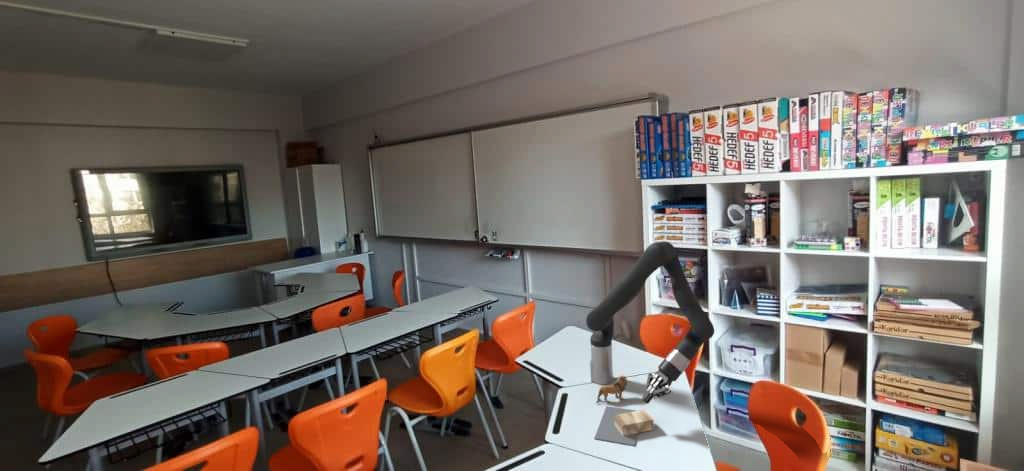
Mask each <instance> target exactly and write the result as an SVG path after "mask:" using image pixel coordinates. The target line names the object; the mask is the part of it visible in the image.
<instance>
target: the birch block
mask: <svg viewBox="0 0 1024 471" xmlns="http://www.w3.org/2000/svg"><path fill="white" fill-rule="evenodd" d="M614 420H615V426H616V427H617V429H618V430H619V431H620V433H621V434H622V435H623V436H625V435H630V434H634V433H638V434H639V433H643V432H647V431H648V432H649V431H653V430H655V427H654V426H655V425H654V424H655V423H654V422H655V420H654V418H653V417H652V416H651V415H650V414H649V413H648V412H647V411H646V410H645V409H639V410H636V411H633V412H628V413H623V414H618V415H614Z"/></svg>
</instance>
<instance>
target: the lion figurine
mask: <svg viewBox="0 0 1024 471" xmlns="http://www.w3.org/2000/svg"><path fill="white" fill-rule="evenodd" d="M627 383H628V380H627V378H626V376H625V375H620V376H618V377H617V380H616V381H615V383H614V384H610V385H608V384H603V385H601V386H600V388H599V389H598V394H597V398H596V399H597V401H596V404H599V403H600V402H601V400H602V399H601V396H602V395H603V397H604V399H603V400H604V401H605V402H606V403H607V404H610V401H609V400H608V396H609V395H615V396H614V397H615V398H619V400H620V401H624V398H622V395H623V392H625V390H626V387H627Z"/></svg>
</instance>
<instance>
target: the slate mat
mask: <svg viewBox="0 0 1024 471" xmlns="http://www.w3.org/2000/svg"><path fill="white" fill-rule="evenodd" d="M633 411H637V410H635V409H630V408H629V409H627V408H622V407H616V406H615V407H614V406H608V405H606V406H605V408H604V412H603V414H602V416H601V419H600V423H599V425H598V428H597V430H596V434H595V436H594V438H593V439H594V440H596V441H604V442H609V443H614V444H619V445H626V446H631V447H636V442H637V438H638V434H639V433H634V434H630V435H625V436H623V435H622V434H621V433H620V431H619V430H618V429H617V427H616V426H615V420H614V415H618V414H623V413H628V412H633Z"/></svg>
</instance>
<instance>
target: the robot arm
mask: <svg viewBox="0 0 1024 471" xmlns="http://www.w3.org/2000/svg"><path fill="white" fill-rule="evenodd" d="M661 267H663V269H664V270H665V271H666V273H667V275H668V277H669V280H670V283H671V288H672V293H673V297H674V299H675V302H676V304H677V305H678V308H679V309H680V311H681V313H682V315H683V316H684V317H685V318H686V319H687V321H688V323H689V325H690V327H689V329H688V330H687V332H686V333H685V335H684V336H683V338H682V339H681V340H680V341H678V343H677V344H676V345H675V347H674V348H673V349H672V350H670V352H669V353H668V354H667V355H666V356H665V358H663V360H662V361H661V363H660V364H659V365H658V367H657V368H658V370H657V371H655V373H651V372H648V374H647V380H646V383H645V387H646V392H645V393H644V395H642V397H641V400H642V401H643V403H645V404H650V402H651V401H652V399H653V398H654V397H656V398H658V399H659V398H661V397H664V396H667V395H670V394H671V393H672V391H671V389H670V386H671V385H672V383H673V382H676V381H677V380H678V379H679V378H680V376H681V375H682V374H683V372H684V371H685V370H686V369H687V368H688V366H690V363H691V362H692V360H693V359H694V357H696V355H697V354H698V353H699V350H700V348H701V347H702V345H704V343H705V342H706V341H708V340H710V339H711V338H713V337H714V335H715V328H714V324H713V322H712V321H711V320H710V318H709V317H708V315H707V313H706V312H705V311H704V309H703V307H702V306H701V304H700V302H699V301H698V299H697V297H696V295H695V293H694V291H693V289H692V287H691V285H690V284H689V281H688V278H687V276H686V274H685V272H684V269H683V266H682V264H681V262H680V258H679V255H678V253H677V250H676V248H675V246H674V245H673V244H672V243H671V242H669V241H658V242H654V243H651V244H649V245H648V246H647V248H645V250H644V251H643V253H642V254H641V256H640V257H639V258H638V260H637V261H636V262H635V264H634V265H633V266H632V267H631V268H630V269H629V270H628V271H627V272H626V273H625V274H624V275H623V276H622V277H621V278H620V279H619V280H618V281H617V282H616V284H615V285H614V286H613V288H611V290H610V291H609V292H608V293H607V294H606V296H605V297H604V299H603V300H601V302H600V303H599V304H597V306H595V307H594V308H593V309H592V310H591V311H590V312H588V313H587V316H586V319H585V322H586V323H585V324H586V326H587V328H588V329H589V330H590V331H591V332H592V331H593V332H592V334H591V336H590V341H589V342H590V361H589V366H590V367H589V369H590V382H593V383H595V384H599V385H608V384H611V383H613V381H614V373H613V372H614V371H613V369H614V366H613V364H614V363H613V341H612V340H613V338H614V315H615V314H616V313H619V311H621V310H622V309H624V308H625V307H627V305H629V304H630V303H631V302H632V301H634V299H635V298H637V296H638V295H639V294H640V293H641V292H642V291H643V289H644V287H645V285H646V281H647V280H648V278H649V277H650V276H651V275H652V274H654V272H656V271H657V270H658V269H660V268H661Z"/></svg>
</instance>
